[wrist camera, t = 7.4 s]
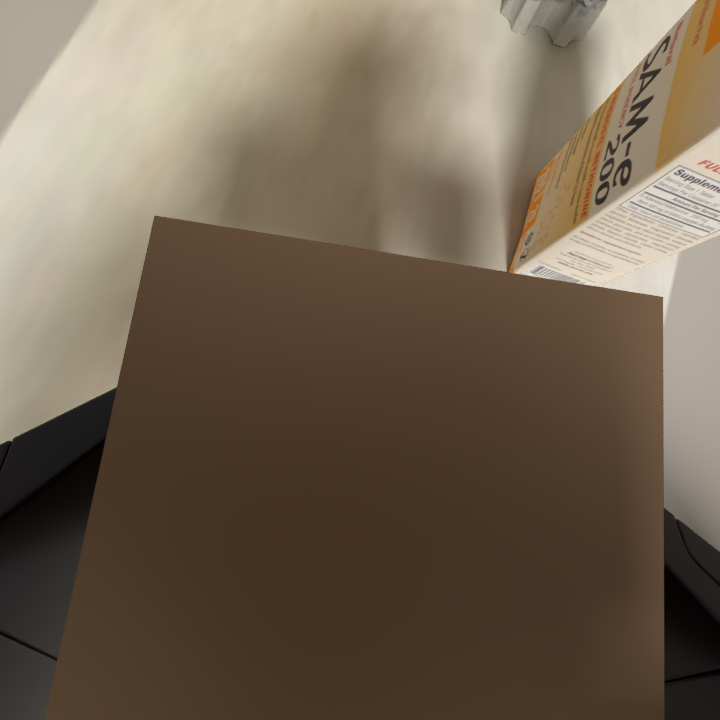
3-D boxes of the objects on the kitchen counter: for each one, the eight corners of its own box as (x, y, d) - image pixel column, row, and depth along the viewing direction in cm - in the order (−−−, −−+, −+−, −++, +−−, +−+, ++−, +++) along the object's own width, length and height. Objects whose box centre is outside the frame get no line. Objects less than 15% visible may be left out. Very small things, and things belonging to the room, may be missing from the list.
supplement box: (532, 174, 22) (806, -135, 9) (594, 198, 23) (948, -74, 10) (502, 278, 21) (766, 88, 8) (567, 302, 21) (927, 154, 8)
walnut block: (385, 478, 15) (664, 881, 3) (283, 467, 15) (8, 883, 2) (396, 377, 16) (662, 297, 3) (298, 364, 16) (155, 216, 3)
